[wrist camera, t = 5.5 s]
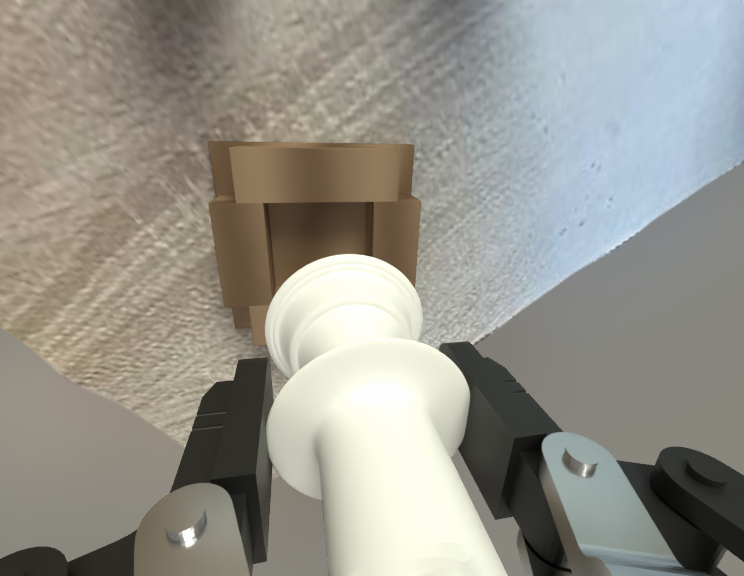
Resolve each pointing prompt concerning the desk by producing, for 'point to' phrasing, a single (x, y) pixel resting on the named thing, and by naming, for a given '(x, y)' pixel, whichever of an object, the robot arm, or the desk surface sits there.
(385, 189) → the wooden square tray
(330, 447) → the candle
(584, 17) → the desk surface
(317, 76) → the desk surface
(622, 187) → the desk surface
